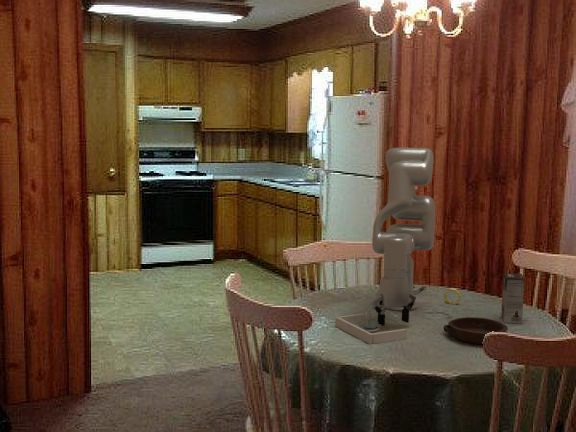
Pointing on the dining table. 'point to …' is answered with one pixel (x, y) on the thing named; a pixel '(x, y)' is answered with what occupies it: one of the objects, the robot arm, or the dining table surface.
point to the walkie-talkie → (417, 290)
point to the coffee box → (512, 298)
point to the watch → (455, 291)
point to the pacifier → (370, 323)
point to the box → (371, 338)
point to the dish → (473, 328)
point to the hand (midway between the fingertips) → (393, 323)
